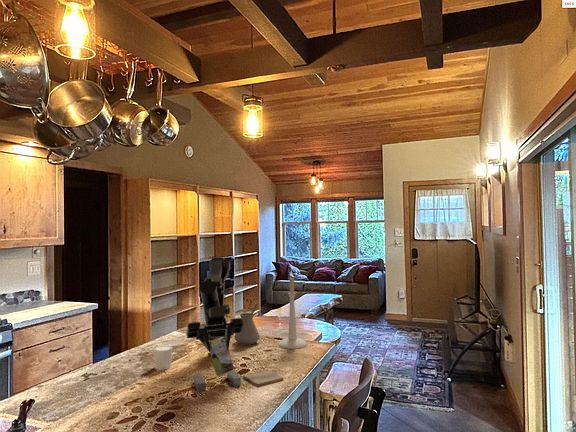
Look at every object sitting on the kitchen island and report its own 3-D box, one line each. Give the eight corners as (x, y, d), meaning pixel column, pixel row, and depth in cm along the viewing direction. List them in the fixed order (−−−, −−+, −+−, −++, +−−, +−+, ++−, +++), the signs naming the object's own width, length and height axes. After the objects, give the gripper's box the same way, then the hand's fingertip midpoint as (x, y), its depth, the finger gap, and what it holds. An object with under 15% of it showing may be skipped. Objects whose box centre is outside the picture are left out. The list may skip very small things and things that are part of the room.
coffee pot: (255, 347, 173) (254, 312, 174) (230, 345, 176) (230, 311, 176) (268, 334, 194) (268, 304, 195) (246, 333, 196) (246, 303, 197)
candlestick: (301, 350, 168) (300, 278, 169) (273, 347, 172) (273, 278, 174) (310, 342, 180) (309, 275, 181) (284, 339, 184) (283, 275, 186)
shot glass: (176, 365, 150) (176, 346, 150) (163, 371, 143) (163, 351, 144) (162, 363, 152) (162, 344, 153) (149, 368, 146) (149, 349, 147)
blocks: (193, 382, 132) (193, 374, 132) (233, 376, 137) (233, 369, 137) (198, 392, 124) (198, 384, 124) (240, 385, 129) (240, 377, 129)
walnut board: (243, 377, 136) (243, 375, 136) (267, 371, 142) (267, 369, 142) (258, 386, 128) (257, 384, 128) (283, 379, 134) (283, 377, 134)
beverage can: (231, 376, 128) (225, 339, 129) (209, 378, 129) (204, 341, 130) (237, 370, 134) (232, 334, 135) (216, 372, 135) (211, 336, 136)
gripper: (187, 298, 132) (192, 340, 121) (241, 294, 139) (251, 333, 128) (184, 317, 139) (189, 358, 128) (236, 312, 146) (244, 351, 136)
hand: (219, 350), depth 130 cm, fingers closed on beverage can, 6 cm apart
